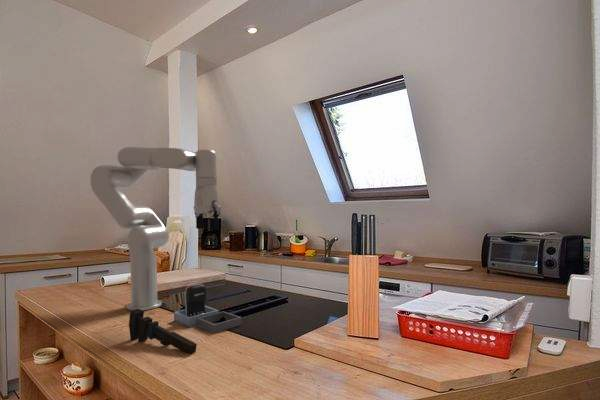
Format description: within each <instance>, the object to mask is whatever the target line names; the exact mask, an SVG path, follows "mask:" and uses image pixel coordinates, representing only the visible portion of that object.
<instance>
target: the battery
mask: <svg viewBox="0 0 600 400" xmlns="http://www.w3.org/2000/svg"><path fill="white" fill-rule="evenodd" d="M207 294H208V292H207V286H206V285H205V284H202V283H197V284H191V285H188V286H186V287H185V289H184V305H185V306H184V307H185V309H186V316H188V317H192V316H196V315H200V314H204V313H205V306H206V300H207V298H208V295H207Z"/></svg>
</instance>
